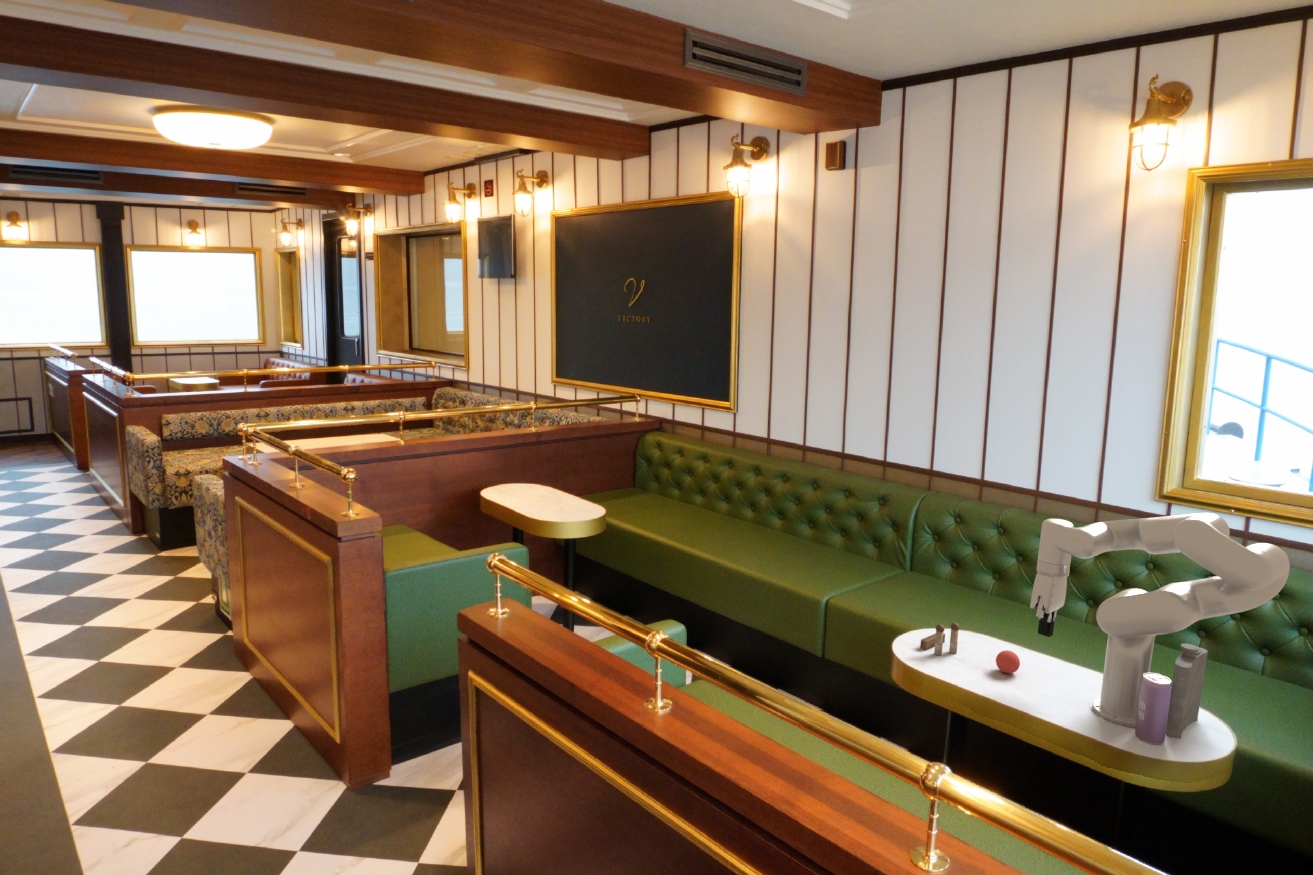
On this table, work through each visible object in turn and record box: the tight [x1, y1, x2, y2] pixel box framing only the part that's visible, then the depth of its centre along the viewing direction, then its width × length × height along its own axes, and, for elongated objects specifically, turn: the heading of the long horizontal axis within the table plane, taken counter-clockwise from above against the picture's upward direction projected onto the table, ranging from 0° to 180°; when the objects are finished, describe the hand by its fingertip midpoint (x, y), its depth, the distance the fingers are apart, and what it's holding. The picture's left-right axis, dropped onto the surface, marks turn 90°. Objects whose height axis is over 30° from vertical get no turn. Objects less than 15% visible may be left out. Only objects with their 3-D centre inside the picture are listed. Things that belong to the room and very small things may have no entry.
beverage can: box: [1134, 672, 1172, 746], centre depth 186 cm, size 6×6×15 cm
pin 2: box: [948, 622, 960, 655], centre depth 232 cm, size 2×2×9 cm
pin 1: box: [933, 623, 945, 657], centre depth 231 cm, size 2×2×9 cm
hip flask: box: [1165, 643, 1208, 739], centre depth 193 cm, size 16×4×20 cm, turn 132°
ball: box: [995, 650, 1021, 674], centre depth 220 cm, size 6×6×6 cm
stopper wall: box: [919, 632, 946, 651], centre depth 238 cm, size 2×10×2 cm, turn 130°
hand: (1045, 634), depth 212 cm, fingers closed
